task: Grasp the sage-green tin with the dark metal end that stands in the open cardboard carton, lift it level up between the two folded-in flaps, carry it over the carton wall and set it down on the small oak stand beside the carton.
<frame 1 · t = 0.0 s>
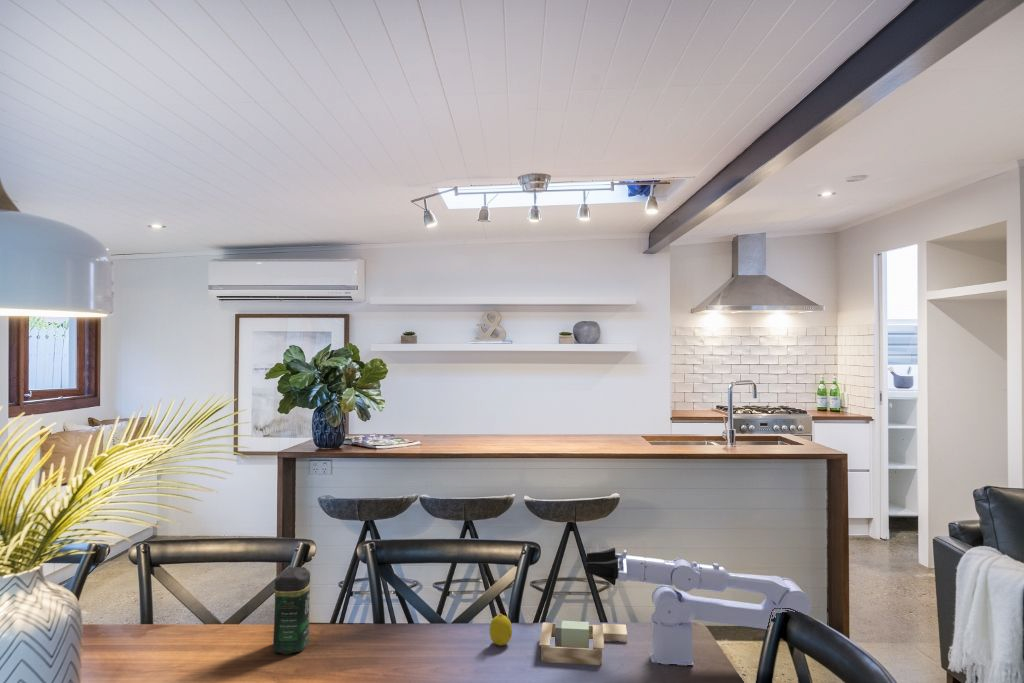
hand: (586, 562, 159), 22 cm above the table, tool horizontal, fingers open, 7 cm apart
lemon: (500, 647, 161), on the table
oak stand: (614, 638, 166), on the table
carton: (572, 652, 158), on the table
coffee jar: (291, 647, 161), on the table
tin: (572, 649, 158), point 1 cm above the table, touching carton
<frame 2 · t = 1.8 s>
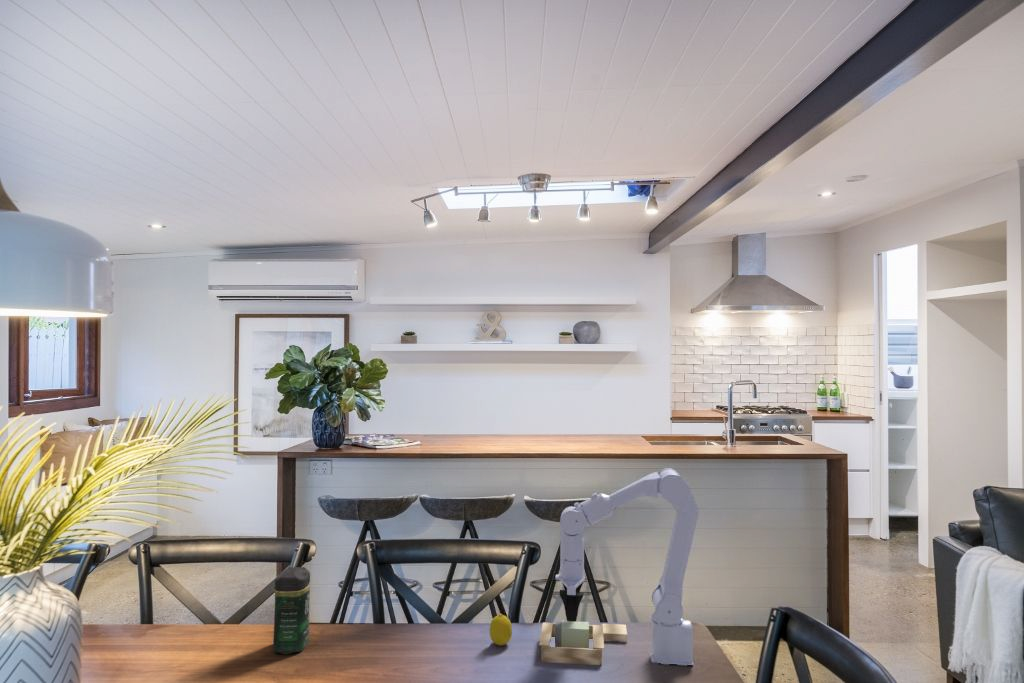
hand: (571, 614, 159), 9 cm above the table, tool pointing down, fingers open, 7 cm apart
nothing on the table moved.
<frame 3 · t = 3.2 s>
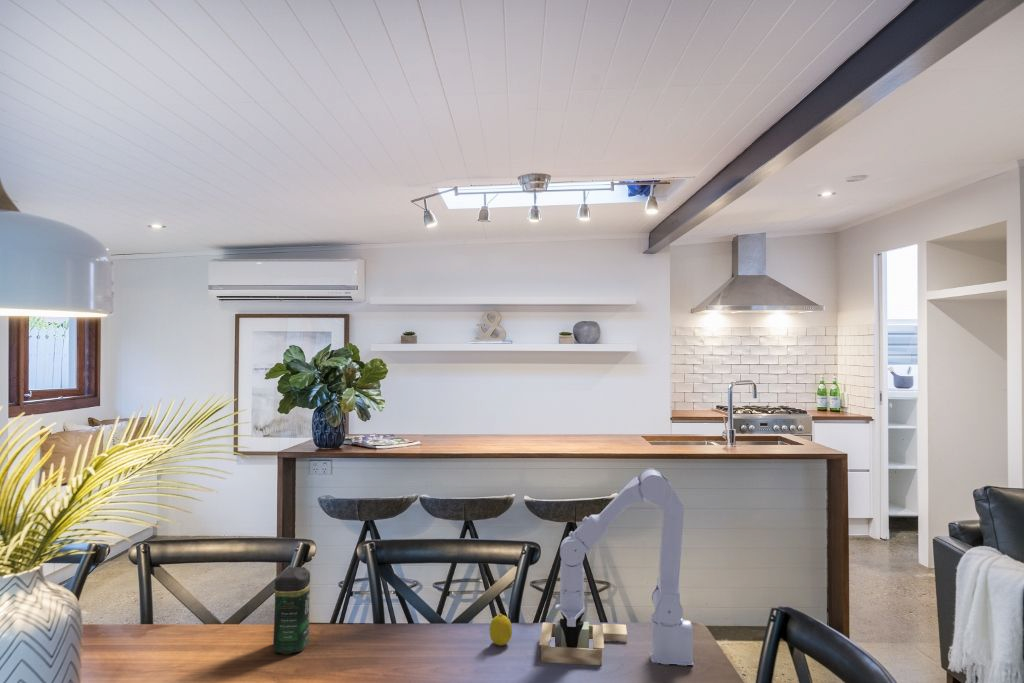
hand: (572, 644, 158), 2 cm above the table, tool pointing down, fingers closed on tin, 4 cm apart
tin: (572, 649, 158), point 1 cm above the table, touching carton, gripper
everything else where it was.
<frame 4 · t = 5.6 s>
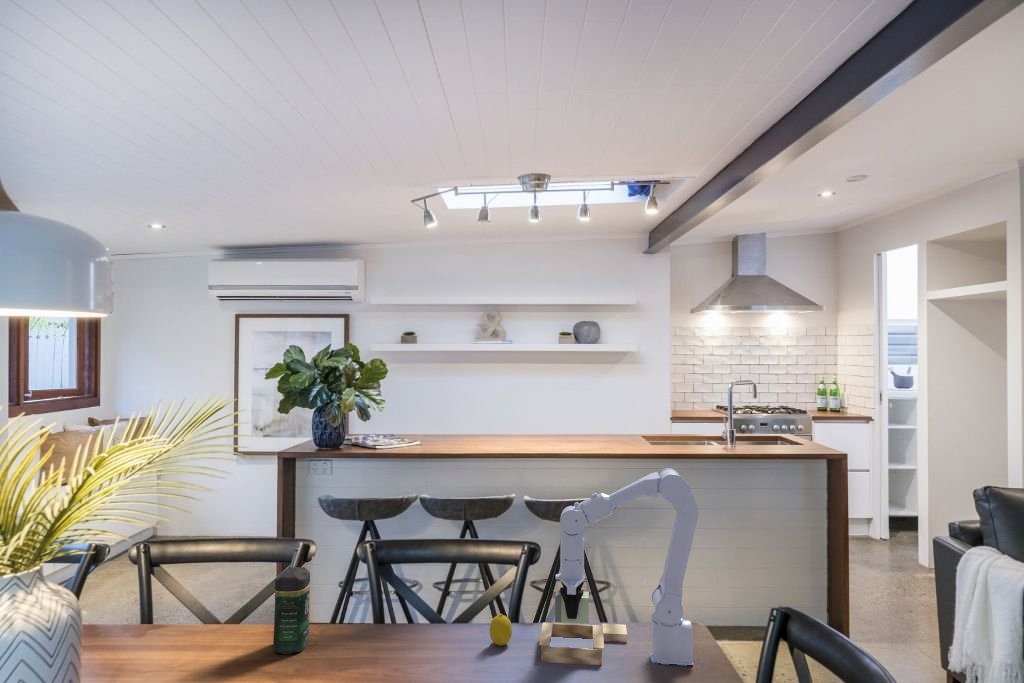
hand: (572, 614, 159), 9 cm above the table, tool pointing down, fingers closed on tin, 4 cm apart
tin: (572, 619, 159), point 8 cm above the table, touching gripper
everything else where it was.
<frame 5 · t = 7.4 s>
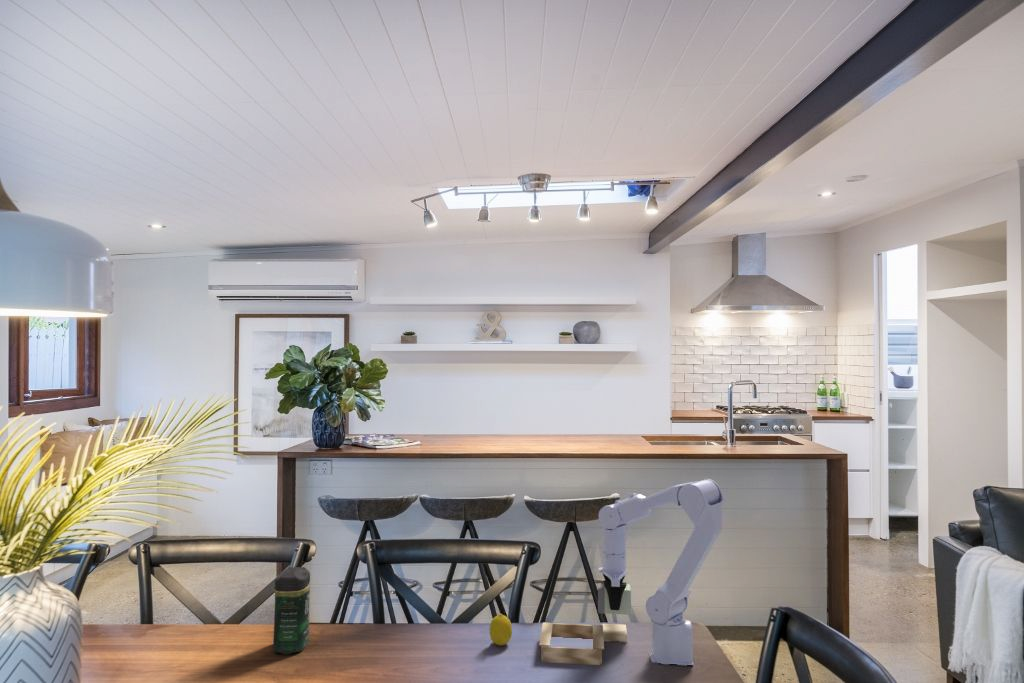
hand: (614, 605, 166), 8 cm above the table, tool pointing down, fingers closed on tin, 4 cm apart
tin: (614, 610, 166), point 7 cm above the table, touching gripper
everything else where it was.
when the fingers open (5 cm above the table, at t = 8.4 s): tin drops 1 cm, resting on carton, oak stand.
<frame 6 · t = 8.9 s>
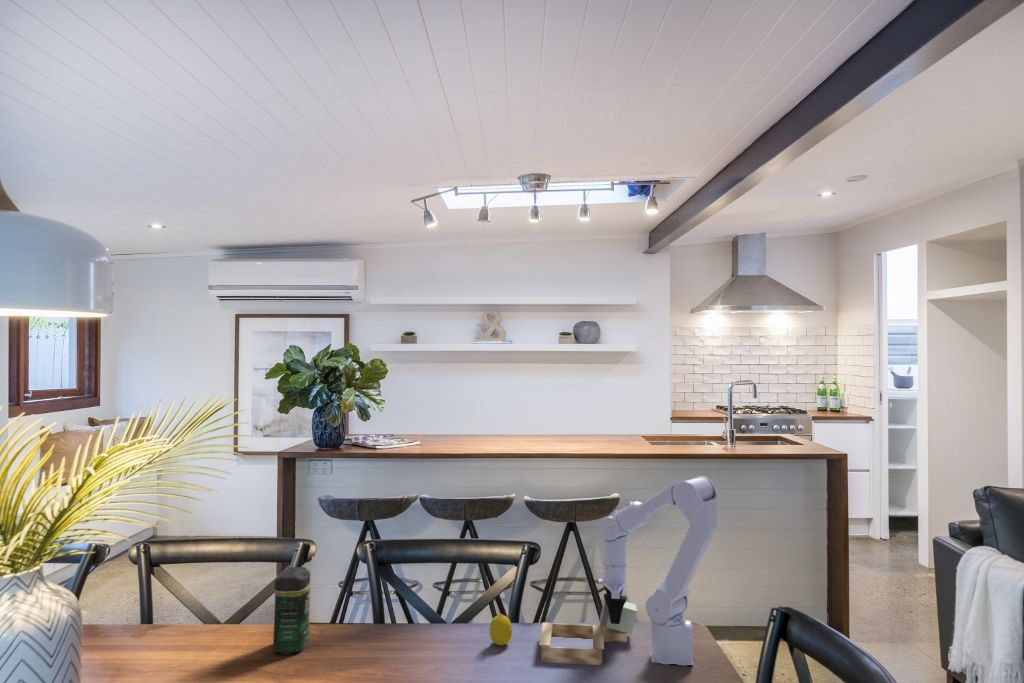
hand: (614, 617, 166), 5 cm above the table, tool pointing down, fingers open, 7 cm apart
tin: (615, 626, 166), point 3 cm above the table, tilted 13°, touching carton, oak stand
everything else where it was.
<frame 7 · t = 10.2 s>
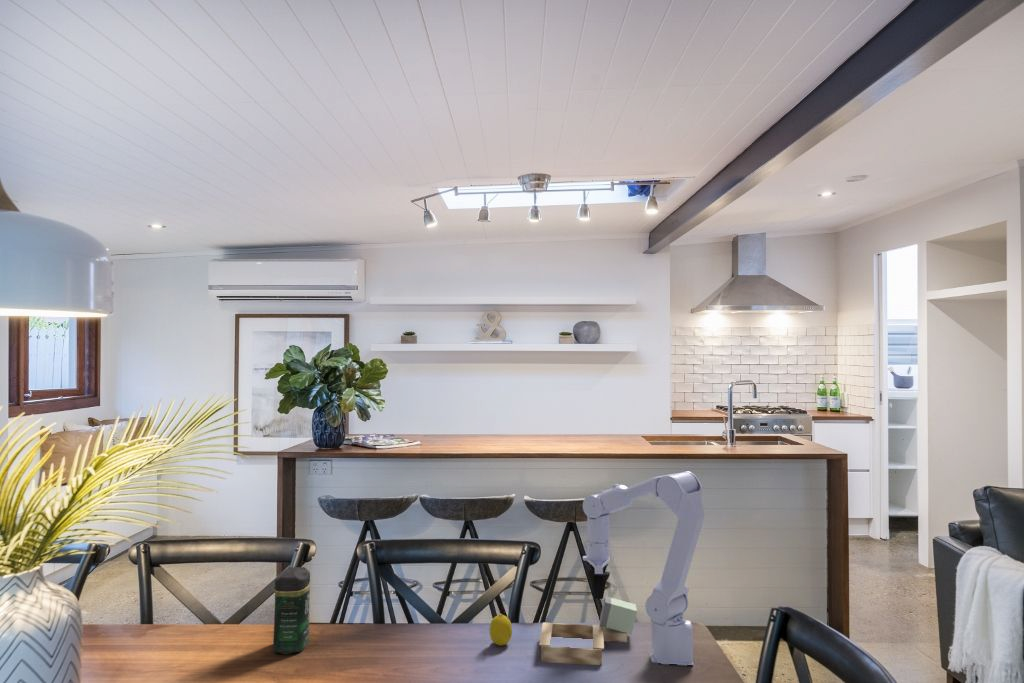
hand: (598, 593, 171), 10 cm above the table, tool pointing down, fingers open, 7 cm apart
nothing on the table moved.
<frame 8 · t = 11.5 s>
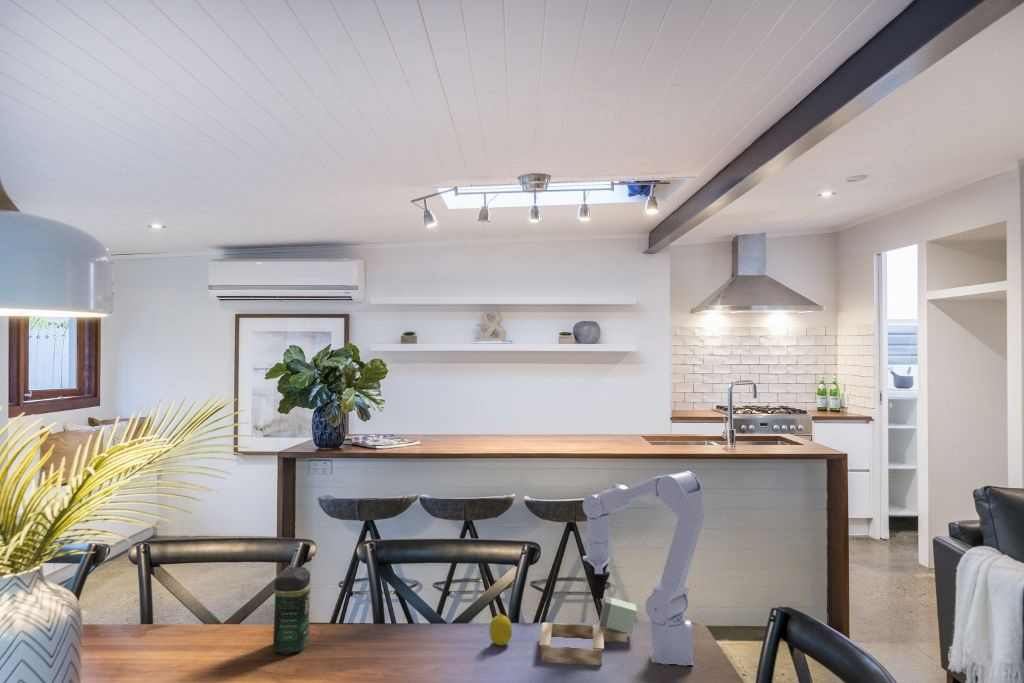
hand: (598, 593, 171), 10 cm above the table, tool pointing down, fingers open, 7 cm apart
nothing on the table moved.
at the end: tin 0.2 cm off-centre on the oak stand, point 3.1 cm above the oak stand's base; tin tilted 13°; the gripper is holding nothing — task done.
